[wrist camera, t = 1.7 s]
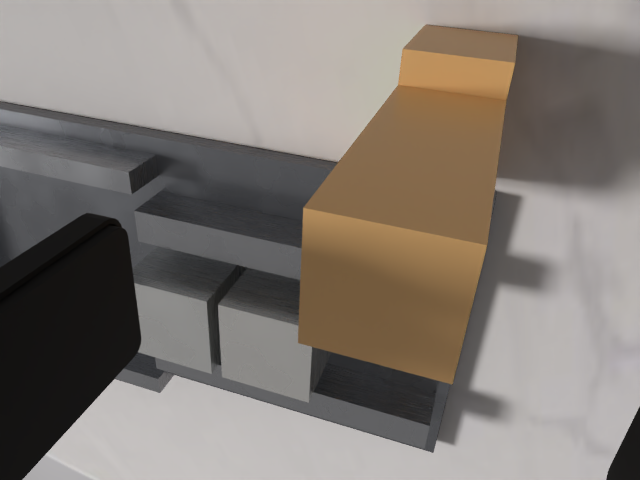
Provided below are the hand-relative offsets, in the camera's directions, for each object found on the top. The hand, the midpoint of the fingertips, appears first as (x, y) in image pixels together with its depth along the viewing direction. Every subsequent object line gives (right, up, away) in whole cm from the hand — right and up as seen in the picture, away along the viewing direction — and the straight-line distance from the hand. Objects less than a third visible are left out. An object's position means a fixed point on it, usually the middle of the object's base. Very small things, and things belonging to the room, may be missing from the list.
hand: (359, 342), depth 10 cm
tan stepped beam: (+4, +7, +10) cm, 12 cm away
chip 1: (-6, 0, +17) cm, 18 cm away
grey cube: (-2, -1, +16) cm, 16 cm away
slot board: (-7, 0, +18) cm, 19 cm away
